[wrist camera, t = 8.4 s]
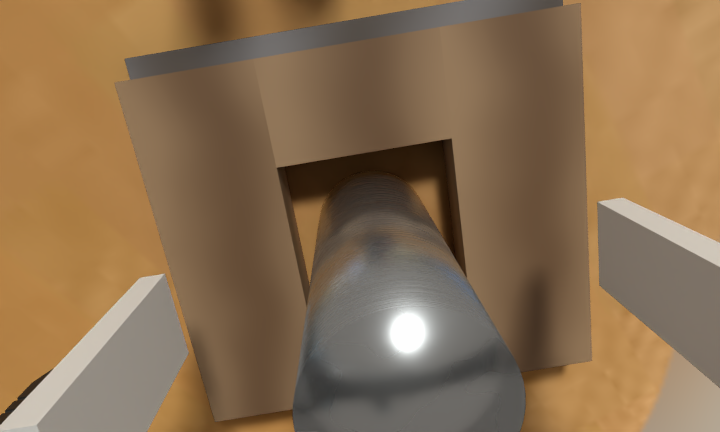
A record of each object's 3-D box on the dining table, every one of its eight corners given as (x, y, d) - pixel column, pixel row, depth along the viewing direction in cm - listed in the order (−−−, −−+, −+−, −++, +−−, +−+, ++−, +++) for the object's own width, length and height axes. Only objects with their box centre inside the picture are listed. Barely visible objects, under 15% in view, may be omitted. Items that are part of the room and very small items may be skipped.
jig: (229, 406, 23) (219, 437, 21) (131, 59, 19) (107, 58, 17) (571, 351, 23) (592, 377, 21) (555, -14, 19) (579, -23, 17)
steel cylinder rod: (329, 278, 22) (316, 520, 10) (310, 180, 20) (270, 328, 9) (430, 262, 22) (532, 486, 10) (417, 162, 20) (517, 288, 9)
